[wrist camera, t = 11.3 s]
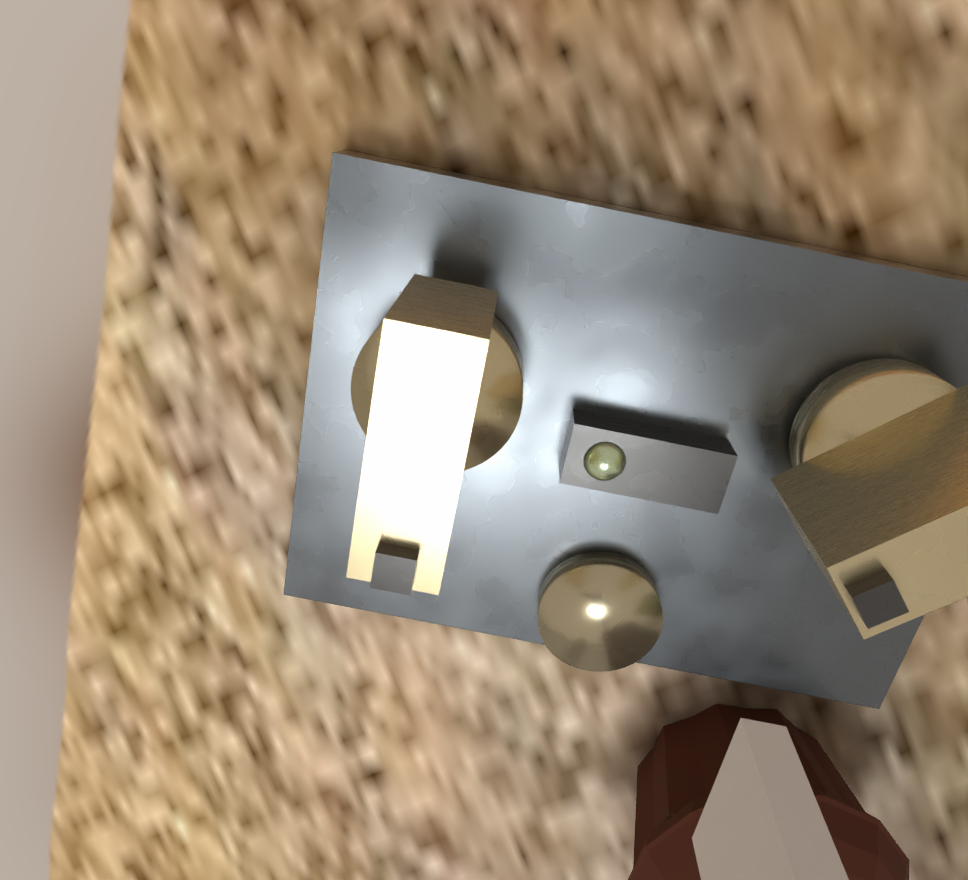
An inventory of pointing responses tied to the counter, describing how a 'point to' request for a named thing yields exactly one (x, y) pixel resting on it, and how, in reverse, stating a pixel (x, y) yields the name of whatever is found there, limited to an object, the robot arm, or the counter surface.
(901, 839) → the counter surface
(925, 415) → the knob
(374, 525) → the knob
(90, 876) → the counter surface
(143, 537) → the counter surface
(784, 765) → the robot arm
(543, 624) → the levelling plate
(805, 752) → the muffin
